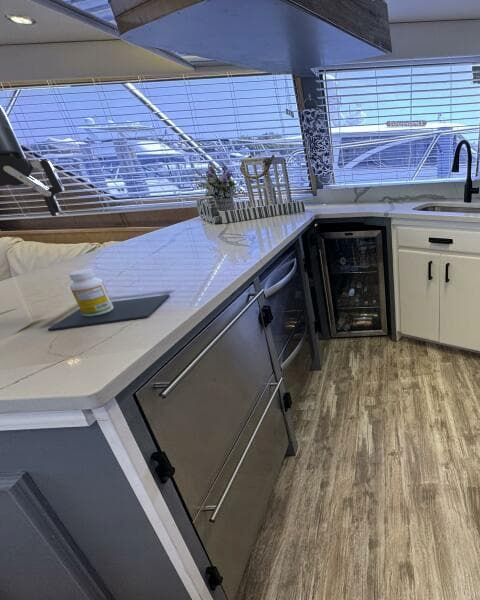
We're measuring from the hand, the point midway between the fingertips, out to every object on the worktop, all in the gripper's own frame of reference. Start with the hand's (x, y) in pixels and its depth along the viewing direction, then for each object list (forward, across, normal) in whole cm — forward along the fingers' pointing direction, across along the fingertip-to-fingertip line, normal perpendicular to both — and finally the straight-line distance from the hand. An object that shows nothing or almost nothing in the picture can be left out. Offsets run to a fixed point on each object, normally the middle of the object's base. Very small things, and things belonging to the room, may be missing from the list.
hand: (25, 218), depth 63 cm
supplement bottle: (+22, -5, +1) cm, 22 cm away
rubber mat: (+22, -7, +2) cm, 23 cm away
